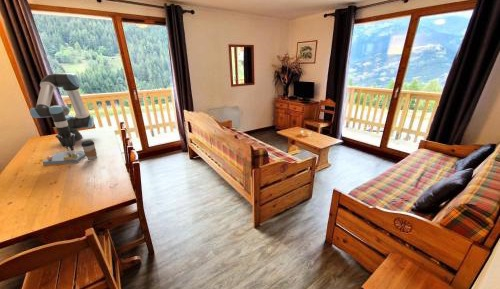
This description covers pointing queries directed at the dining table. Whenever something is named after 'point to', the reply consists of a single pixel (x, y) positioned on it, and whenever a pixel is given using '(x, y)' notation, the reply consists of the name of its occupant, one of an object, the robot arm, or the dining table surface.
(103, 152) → the dining table surface
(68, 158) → the brass cover
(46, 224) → the dining table surface
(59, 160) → the board
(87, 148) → the coffee cup
